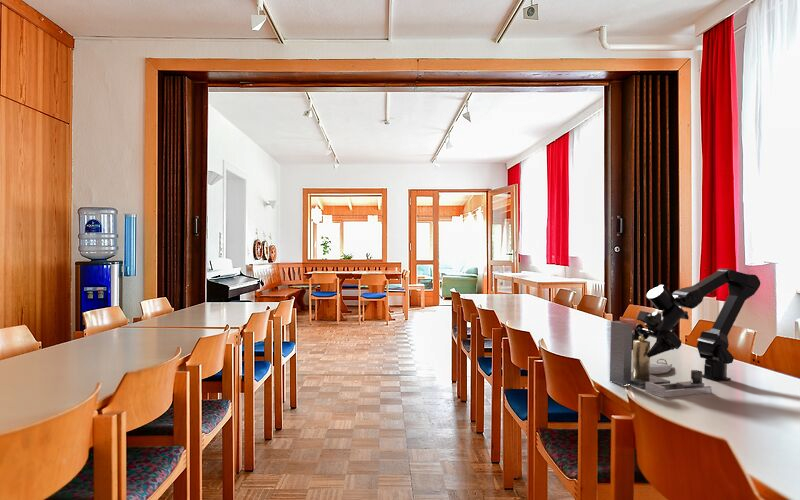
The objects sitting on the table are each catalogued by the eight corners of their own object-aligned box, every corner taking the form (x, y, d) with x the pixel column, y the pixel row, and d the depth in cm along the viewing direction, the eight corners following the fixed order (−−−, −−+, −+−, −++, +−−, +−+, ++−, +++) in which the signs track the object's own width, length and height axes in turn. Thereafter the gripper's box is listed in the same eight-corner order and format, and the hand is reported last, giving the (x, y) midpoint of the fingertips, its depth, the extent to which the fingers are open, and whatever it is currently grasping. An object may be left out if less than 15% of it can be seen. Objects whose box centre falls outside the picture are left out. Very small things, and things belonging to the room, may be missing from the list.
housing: (649, 376, 158) (649, 336, 158) (650, 380, 154) (650, 338, 154) (632, 374, 160) (633, 334, 160) (633, 378, 156) (633, 337, 156)
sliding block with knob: (695, 388, 150) (696, 369, 150) (704, 391, 148) (704, 372, 148) (676, 390, 148) (676, 371, 148) (684, 393, 145) (685, 373, 145)
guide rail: (693, 386, 152) (693, 377, 152) (711, 392, 146) (711, 383, 146) (645, 391, 146) (645, 381, 146) (662, 397, 140) (662, 387, 140)
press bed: (640, 375, 164) (642, 315, 164) (670, 385, 153) (671, 321, 153) (603, 378, 160) (604, 316, 159) (630, 389, 148) (632, 322, 148)
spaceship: (650, 378, 161) (650, 365, 161) (632, 373, 167) (632, 361, 167) (683, 369, 175) (683, 357, 175) (665, 365, 180) (665, 353, 180)
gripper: (633, 299, 167) (605, 331, 164) (674, 306, 148) (643, 342, 146) (652, 321, 168) (624, 353, 166) (695, 330, 150) (664, 366, 148)
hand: (637, 353), depth 157 cm, fingers open, 9 cm apart
